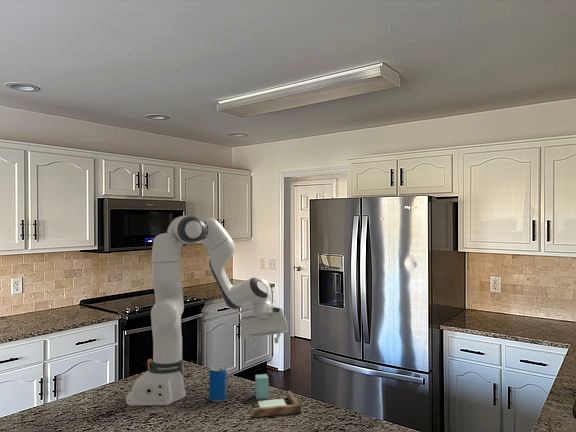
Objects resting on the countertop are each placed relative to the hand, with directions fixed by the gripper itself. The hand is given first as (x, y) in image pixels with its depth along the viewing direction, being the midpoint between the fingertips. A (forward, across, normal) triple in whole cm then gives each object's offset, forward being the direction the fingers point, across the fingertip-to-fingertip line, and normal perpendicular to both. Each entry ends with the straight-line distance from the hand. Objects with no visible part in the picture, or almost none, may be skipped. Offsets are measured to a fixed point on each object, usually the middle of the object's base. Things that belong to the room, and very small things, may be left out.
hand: (265, 344), depth 187 cm
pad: (+26, +2, -4) cm, 27 cm away
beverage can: (+21, -20, -1) cm, 29 cm away
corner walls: (+27, +2, -4) cm, 27 cm away
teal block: (+20, -3, +3) cm, 21 cm away
